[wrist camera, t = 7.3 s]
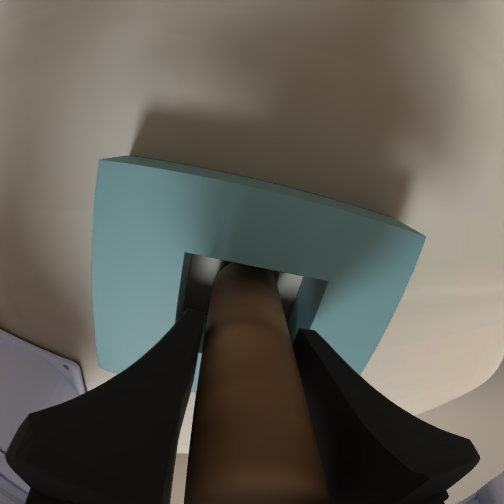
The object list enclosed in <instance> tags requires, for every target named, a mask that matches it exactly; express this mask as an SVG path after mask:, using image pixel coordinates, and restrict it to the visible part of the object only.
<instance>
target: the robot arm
mask: <svg viewBox="0 0 504 504" xmlns="http://www.w3.org/2000/svg"><path fill="white" fill-rule="evenodd" d="M205 314H206V312H203V311H198V310H193V309H189V308H188V309H186V310H184V312H183V314H182V315H181V317H180V318H179V319H178V321H177V322H176V323H175V324H174V325H173V327H172V328H171V329H170V330H169V331H168V332H167V333H166V334H165V335H164V336H163V337H162V338H161V339H160V341H158V342H157V343H156V344H155V345H154V346H153V347H152V348H151V349H150V350H149V351H148V352H146V353H145V354H144V355H143V356H142V357H141V358H139V359H138V360H137V361H136V362H134V363H133V364H132V365H131V366H129V367H128V368H126V369H125V370H124V371H122V372H121V373H119V374H118V375H116V376H114V377H113V378H111V379H110V380H108V381H107V382H105V383H103V384H101V385H100V386H98V387H96V388H94V389H92V390H90V391H88V392H86V393H85V389H84V384H83V380H82V376H81V371H80V367H79V366H78V364H77V363H75V362H73V361H71V360H68V359H66V358H63V357H60V356H58V355H55V354H53V353H51V352H48V351H46V350H43V349H41V348H39V347H37V346H34V345H32V344H30V343H28V342H26V341H23V340H21V339H19V338H17V337H15V336H13V335H11V334H9V333H7V332H5V331H3V330H1V329H0V504H170V498H171V490H172V481H173V473H174V465H175V459H176V452H177V445H178V439H179V434H180V430H181V426H182V422H183V418H184V415H185V411H186V407H187V404H188V400H189V396H190V393H191V389H192V385H193V382H194V376H195V370H196V365H197V359H198V353H199V347H200V342H201V336H202V331H203V325H204V320H205ZM292 346H293V349H294V353H295V357H296V361H297V365H298V369H299V373H300V377H301V381H302V385H303V389H304V393H305V397H306V401H307V405H308V410H309V414H310V418H311V422H312V426H313V430H314V434H315V439H316V443H317V447H318V451H319V455H320V460H321V464H322V468H323V473H324V477H325V481H326V486H327V490H328V494H329V500H328V502H327V503H326V504H444V501H445V500H446V499H448V497H449V495H448V493H447V491H446V490H447V489H448V488H450V487H451V486H452V485H454V484H455V483H456V482H458V481H459V480H460V479H461V478H463V477H464V476H465V475H466V474H467V473H469V472H470V471H471V470H472V469H473V468H474V467H475V466H476V465H477V463H478V462H479V460H480V456H479V454H478V452H477V451H476V449H475V447H474V445H473V444H472V442H471V441H470V440H469V439H467V438H464V437H461V436H458V435H455V434H452V433H449V432H446V431H444V430H441V429H439V428H437V427H435V426H433V425H430V424H428V423H426V422H424V421H422V420H420V419H418V418H417V417H415V416H413V415H412V414H410V413H408V412H407V411H405V410H403V409H402V408H400V407H399V406H397V405H396V404H394V403H393V402H391V401H390V400H389V399H387V398H386V397H385V396H383V395H382V394H381V393H379V392H378V391H377V390H376V389H374V388H373V387H372V386H371V385H370V384H369V383H367V382H366V381H365V380H364V379H363V378H362V377H361V376H360V375H359V374H358V373H357V372H356V371H354V370H353V369H352V368H351V367H350V366H349V365H348V364H347V363H346V362H345V361H344V360H343V359H342V357H341V356H340V355H339V354H338V353H337V352H336V351H335V350H334V349H333V348H332V347H331V346H330V345H329V344H328V343H327V342H326V341H325V340H324V339H323V338H322V337H321V336H320V335H319V334H318V333H317V332H316V331H315V330H310V329H303V328H299V329H298V332H297V334H296V337H295V339H294V342H293V344H292ZM457 504H504V472H502V473H501V474H499V475H498V476H497V477H495V478H494V479H492V480H491V481H489V482H488V483H487V484H485V485H484V486H483V487H481V488H480V489H479V490H478V491H477V492H476V493H474V494H472V495H471V496H469V497H467V498H466V499H464V500H462V501H460V502H459V503H457Z"/></svg>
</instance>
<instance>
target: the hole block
mask: <svg viewBox="0 0 504 504" xmlns="http://www.w3.org/2000/svg"><path fill="white" fill-rule="evenodd" d="M425 239H426V236H424V235H422V234H421V233H419V232H417V231H416V230H414V229H412V228H410V227H408V226H407V225H405V224H403V223H401V222H400V221H398V220H396V219H394V218H391V217H388V216H385V215H382V214H379V213H376V212H373V211H370V210H367V209H363V208H360V207H357V206H354V205H350V204H347V203H344V202H340V201H337V200H333V199H330V198H326V197H323V196H319V195H315V194H312V193H308V192H304V191H301V190H297V189H293V188H289V187H285V186H281V185H277V184H273V183H269V182H265V181H261V180H256V179H252V178H248V177H243V176H239V175H234V174H229V173H225V172H220V171H215V170H210V169H205V168H200V167H195V166H190V165H184V164H179V163H173V162H167V161H161V160H155V159H149V158H142V157H136V156H121V157H114V158H107V159H100V160H99V167H98V174H97V183H96V192H95V202H94V215H93V233H92V299H93V316H94V329H95V339H96V348H97V357H98V364H99V368H101V369H104V370H107V371H110V372H113V373H117V374H119V373H121V372H122V371H124V370H125V369H126V368H128V367H129V366H131V365H132V364H133V363H134V362H136V361H137V360H138V359H139V358H141V357H142V356H143V355H144V354H145V353H146V352H148V351H149V350H150V349H151V348H152V347H153V346H154V345H155V344H156V343H157V342H158V341H160V339H161V338H162V337H163V336H164V335H165V334H166V333H167V332H168V331H169V330H170V329H171V328H172V327H173V325H174V324H175V323H176V322H177V321H178V319H179V318H180V317H181V315H182V314H183V312H184V311H183V308H184V301H185V294H186V287H187V281H188V274H189V268H190V262H191V256H192V254H197V255H202V256H206V257H211V258H216V259H221V260H226V261H230V262H235V263H240V264H245V265H250V266H255V267H260V268H265V269H270V270H275V271H280V272H285V273H290V274H295V275H300V276H304V277H303V280H302V283H301V286H300V288H299V291H298V294H297V297H296V300H295V303H294V306H293V309H292V311H291V314H290V317H289V320H288V322H287V326H288V330H289V334H290V338H291V342H292V344H293V342H294V339H295V337H296V334H297V332H298V329H299V328H303V329H310V330H315V331H316V332H317V333H318V334H319V335H320V336H321V337H322V338H323V339H324V340H325V341H326V342H327V343H328V344H329V345H330V346H331V347H332V348H333V349H334V350H335V351H336V352H337V353H338V354H339V355H340V356H341V357H342V359H343V360H344V361H345V362H346V363H347V364H348V365H349V366H350V367H351V368H352V369H353V370H354V371H356V372H357V373H358V374H359V375H361V373H362V372H363V370H364V368H365V366H366V365H367V363H368V361H369V360H370V358H371V356H372V354H373V353H374V351H375V349H376V347H377V345H378V344H379V342H380V340H381V338H382V336H383V334H384V332H385V330H386V328H387V326H388V325H389V323H390V321H391V319H392V317H393V314H394V312H395V310H396V308H397V306H398V304H399V302H400V300H401V298H402V295H403V293H404V291H405V289H406V286H407V284H408V282H409V280H410V277H411V275H412V272H413V270H414V268H415V265H416V263H417V260H418V258H419V255H420V252H421V250H422V247H423V244H424V242H425ZM207 317H208V316H205V320H204V325H203V331H202V336H201V342H200V347H199V353H198V359H197V365H196V370H195V376H194V382H193V385H192V389H191V392H196V391H197V384H198V377H199V370H200V363H201V356H202V349H203V343H204V336H205V330H206V323H207Z"/></svg>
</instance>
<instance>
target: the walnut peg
mask: <svg viewBox="0 0 504 504" xmlns="http://www.w3.org/2000/svg"><path fill="white" fill-rule="evenodd" d="M328 500H329V494H328V490H327V486H326V481H325V477H324V473H323V468H322V464H321V460H320V455H319V451H318V447H317V443H316V439H315V434H314V430H313V426H312V422H311V418H310V414H309V410H308V405H307V401H306V397H305V393H304V389H303V385H302V381H301V377H300V373H299V369H298V365H297V361H296V357H295V353H294V349H293V346H292V342H291V338H290V334H289V330H288V326H287V322H286V318H285V314H284V311H283V307H282V303H281V299H280V295H279V292H278V288H277V284H276V281H275V278H274V276H273V274H272V273H271V272H270V270H269V269H265V268H260V267H255V266H250V265H245V264H240V263H235V262H233V263H230V264H228V265H226V266H225V267H223V268H222V269H221V270H220V271H219V272H218V274H217V275H216V277H215V279H214V282H213V286H212V292H211V298H210V305H209V311H208V317H207V323H206V330H205V336H204V343H203V349H202V356H201V363H200V370H199V377H198V384H197V391H196V399H195V407H194V414H193V422H192V431H191V439H190V448H189V457H188V466H187V476H186V487H185V497H184V504H326V503H327V502H328Z"/></svg>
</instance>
